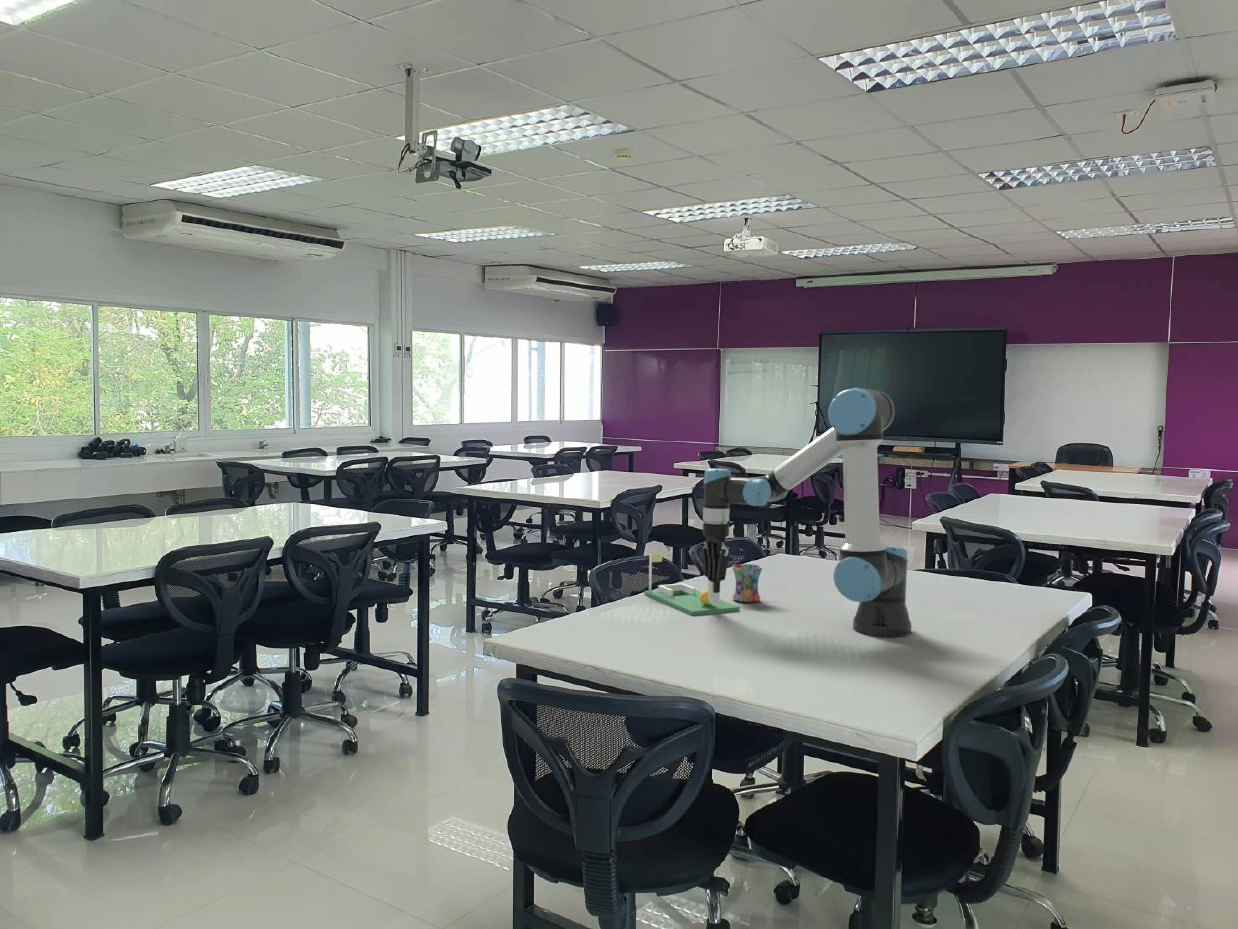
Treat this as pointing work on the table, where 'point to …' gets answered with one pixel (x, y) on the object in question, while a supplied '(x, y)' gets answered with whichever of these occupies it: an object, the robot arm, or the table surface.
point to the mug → (746, 582)
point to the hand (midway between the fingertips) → (713, 603)
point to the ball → (705, 598)
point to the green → (687, 602)
